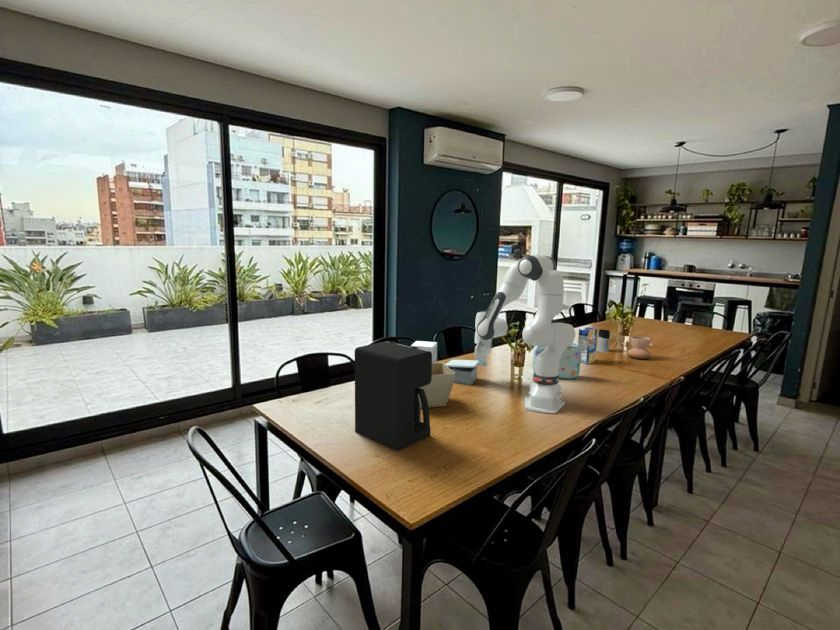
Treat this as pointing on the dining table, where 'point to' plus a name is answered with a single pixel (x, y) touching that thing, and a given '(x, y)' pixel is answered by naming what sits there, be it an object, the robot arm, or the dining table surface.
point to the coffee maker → (392, 393)
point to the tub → (464, 375)
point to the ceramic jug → (639, 347)
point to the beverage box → (587, 344)
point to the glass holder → (604, 341)
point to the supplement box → (427, 348)
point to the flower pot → (439, 385)
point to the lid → (464, 363)
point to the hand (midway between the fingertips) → (482, 364)
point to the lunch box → (564, 360)
